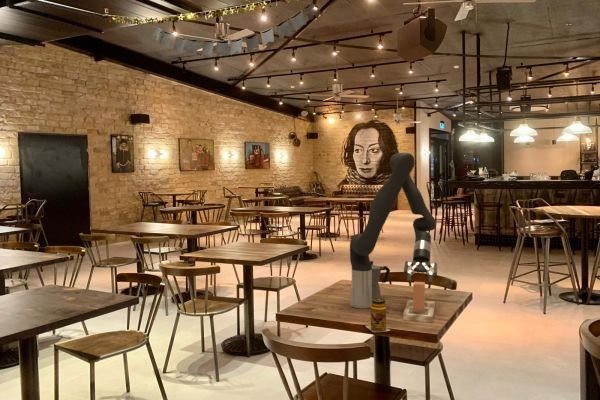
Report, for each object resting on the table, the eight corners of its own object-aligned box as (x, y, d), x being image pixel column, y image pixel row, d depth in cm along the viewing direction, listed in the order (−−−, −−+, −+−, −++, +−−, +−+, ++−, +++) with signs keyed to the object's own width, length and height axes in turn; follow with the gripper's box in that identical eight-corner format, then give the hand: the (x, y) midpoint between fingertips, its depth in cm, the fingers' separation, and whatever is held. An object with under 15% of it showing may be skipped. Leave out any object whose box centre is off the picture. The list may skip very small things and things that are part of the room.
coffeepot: (357, 299, 249) (357, 262, 248) (358, 294, 259) (358, 258, 257) (389, 300, 247) (390, 263, 246) (389, 295, 256) (389, 259, 255)
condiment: (374, 333, 200) (374, 302, 199) (364, 326, 208) (365, 297, 207) (390, 331, 202) (391, 301, 202) (381, 324, 210) (381, 295, 210)
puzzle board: (402, 320, 216) (403, 313, 216) (408, 304, 239) (408, 298, 239) (432, 322, 213) (432, 315, 213) (434, 306, 236) (434, 300, 235)
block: (413, 311, 218) (413, 283, 218) (413, 308, 223) (414, 281, 222) (423, 312, 217) (424, 284, 216) (424, 309, 222) (424, 282, 221)
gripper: (405, 246, 232) (402, 277, 222) (438, 248, 228) (436, 279, 218) (406, 256, 238) (403, 286, 227) (438, 258, 233) (436, 289, 223)
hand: (419, 283), depth 223 cm, fingers open, 8 cm apart
